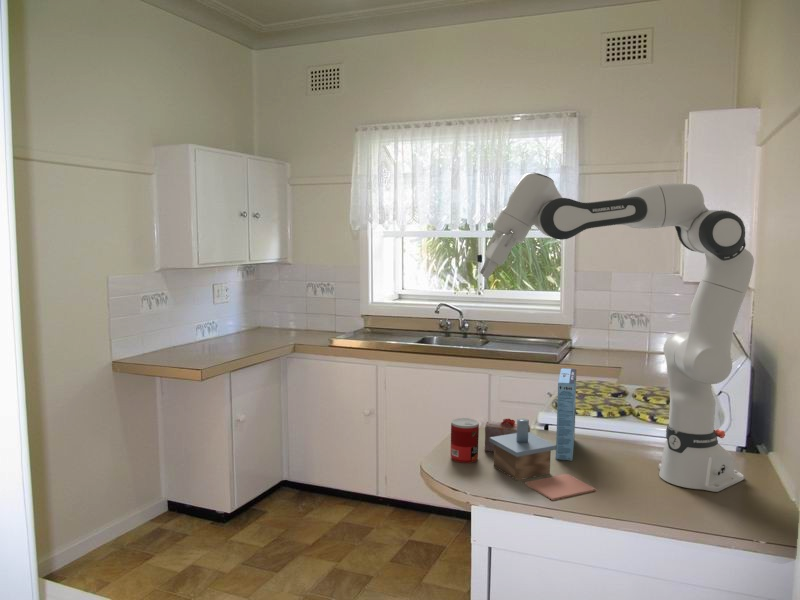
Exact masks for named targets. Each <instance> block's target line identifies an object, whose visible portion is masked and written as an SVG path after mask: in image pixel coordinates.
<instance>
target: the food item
mask: <svg viewBox="0 0 800 600" xmlns="http://www.w3.org/2000/svg"><path fill="white" fill-rule="evenodd" d="M529 432H530V433H532V432H531V426H530V425H529ZM513 433H517V423H516V420H514V419H511V418H504V419H502V421H493V420H489V421H487V422H486V423H485V427H484V451H485V452H493V453H494V444H493V443H491V442H489V437H495V436H501V435H507V434H513Z"/></svg>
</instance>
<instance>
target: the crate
mask: <svg viewBox="0 0 800 600" xmlns="http://www.w3.org/2000/svg"><path fill="white" fill-rule="evenodd" d="M551 451H552V450H551ZM551 451H546V452H541V453H535V454H530V455H524V456H519V457H516V456H514V455H512V454H511V453H509V452H507V451H505V450H504V449H502V448H500V447H498V446H496V445H495V444H494V452H493V467H494V468H496V469H498V470H499V469H500V471H501V472H502V471H503V472H502V473H504V472H505V473H504V474H506V475H507V474H508V475H507V476H509V475H510V476H509V477H511V478H512V477H513V478H512V479H514V480H515V479H516V481H521V480H524V479H525V478H526V479H529V478H530V477H531V478H535V477H534V476H536V477H539V476H540V475H541V476H544V475H545V474H546V475H549V474H551V458H552V457H551V456H552V455H551V453H552V452H551ZM520 479H521V480H520ZM526 479H525V480H526Z"/></svg>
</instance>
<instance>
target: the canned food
mask: <svg viewBox="0 0 800 600" xmlns="http://www.w3.org/2000/svg"><path fill="white" fill-rule="evenodd" d="M450 422H451V423H450V457H451V460H453V461H454V462H457V463H460V464H461V463H462V464H472V463H475V462H476V461H477V460H478V459H479V458H478V457H479V438H480V437H479V434H480V433H479V431H480V428H479V427H480V426H479V421H478V420H476V419H473V418H468V417H467V418H465V417H458V418H455V419H454V418H453V419H452V420H451V421H450Z"/></svg>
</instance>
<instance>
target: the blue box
mask: <svg viewBox="0 0 800 600" xmlns="http://www.w3.org/2000/svg"><path fill="white" fill-rule="evenodd" d="M576 399H577V369H576V368H561V369H560V372H559V376H558V381H557V403H556V404H557V405H556V411H557V412H556V438H555V439H556V442H555V445H556V450H555V459H556V460H562V461H570V462H572V461H573V457H574V456H573V455H574V445H575V434H576V433H575V432H576V431H575V429H576V406H577V405H576V403H577V402H576Z"/></svg>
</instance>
